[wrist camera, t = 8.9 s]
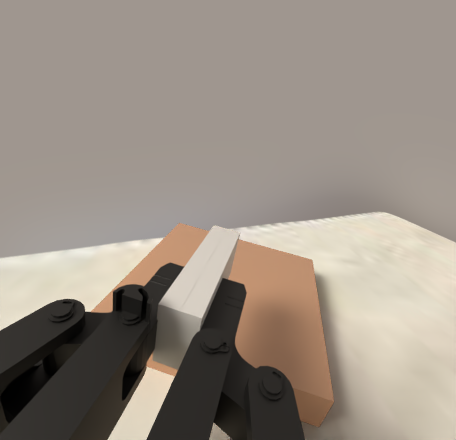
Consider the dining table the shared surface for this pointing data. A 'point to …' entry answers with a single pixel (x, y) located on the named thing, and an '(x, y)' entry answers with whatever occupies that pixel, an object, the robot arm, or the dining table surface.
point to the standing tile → (261, 314)
